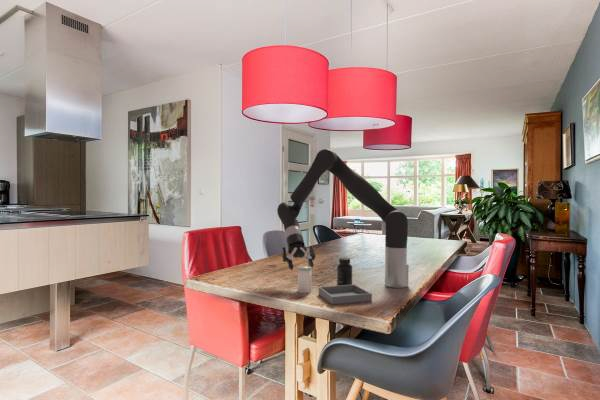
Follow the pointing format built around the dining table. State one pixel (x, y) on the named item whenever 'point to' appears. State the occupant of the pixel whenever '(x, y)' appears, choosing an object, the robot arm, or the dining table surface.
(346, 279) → the supplement bottle
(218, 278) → the dining table surface
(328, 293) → the tray
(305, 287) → the green capped canister
